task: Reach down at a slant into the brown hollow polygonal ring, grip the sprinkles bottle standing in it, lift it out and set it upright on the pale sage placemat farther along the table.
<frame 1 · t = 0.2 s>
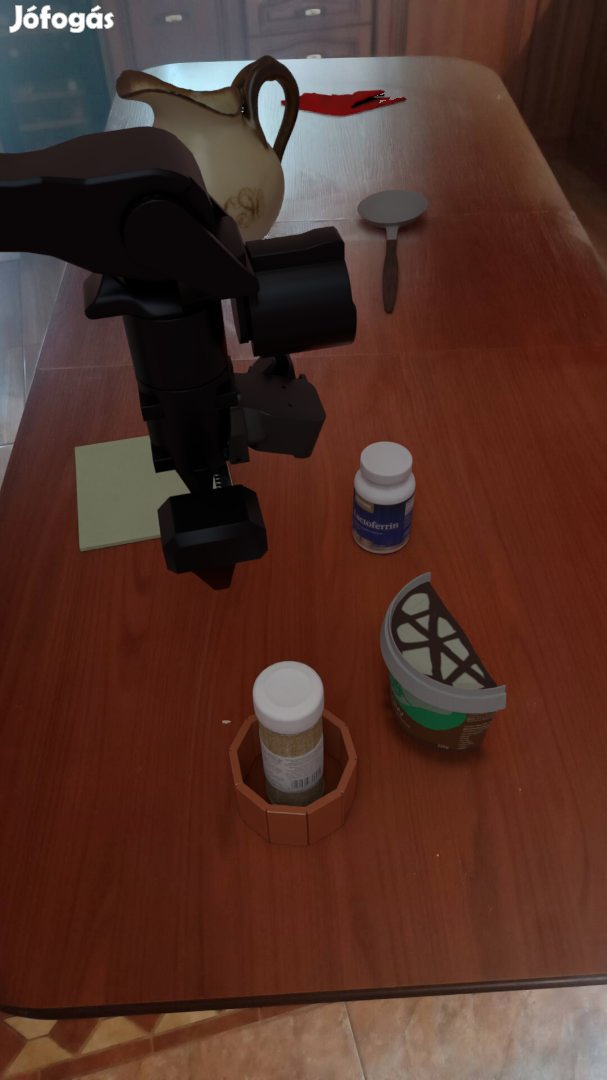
hand: (213, 542, 60), 14 cm above the table, tool pointing down, fingers open, 9 cm apart
pill bottle: (380, 536, 79), on the table
sprinkles bottle: (294, 789, 60), resting in brown hollow polygonal ring
pitcher: (214, 252, 121), on the table
brown hollow polygonal ring: (294, 787, 60), on the table
food container: (416, 714, 65), on the table
cloth: (341, 106, 165), on the table
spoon: (390, 258, 119), on the table
placemat: (154, 485, 85), on the table
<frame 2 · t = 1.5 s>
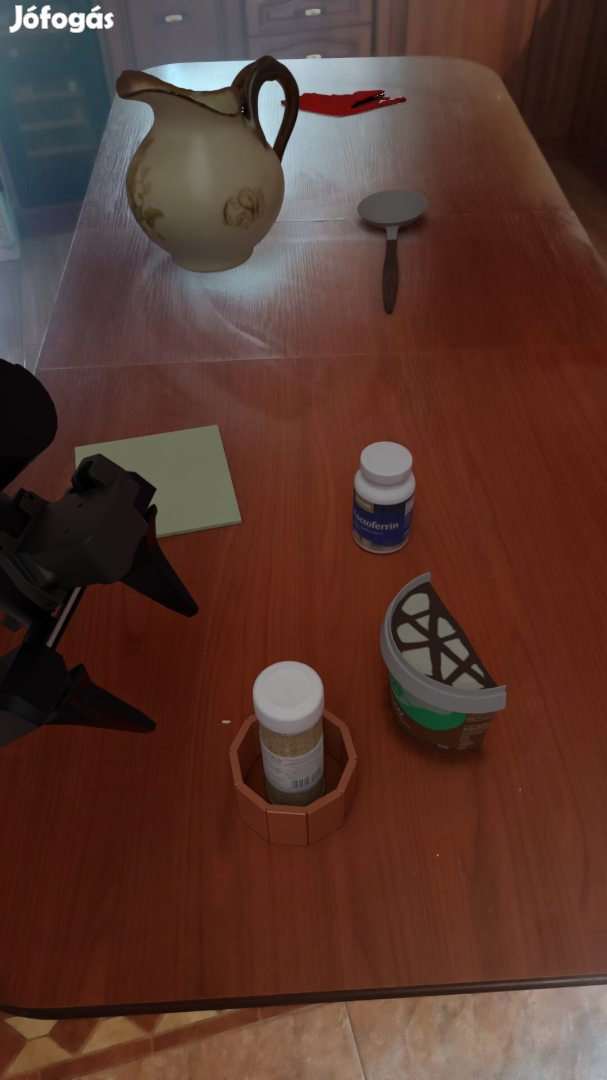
hand: (174, 667, 52), 13 cm above the table, tool tilted 45°, fingers open, 9 cm apart
nothing on the table moved.
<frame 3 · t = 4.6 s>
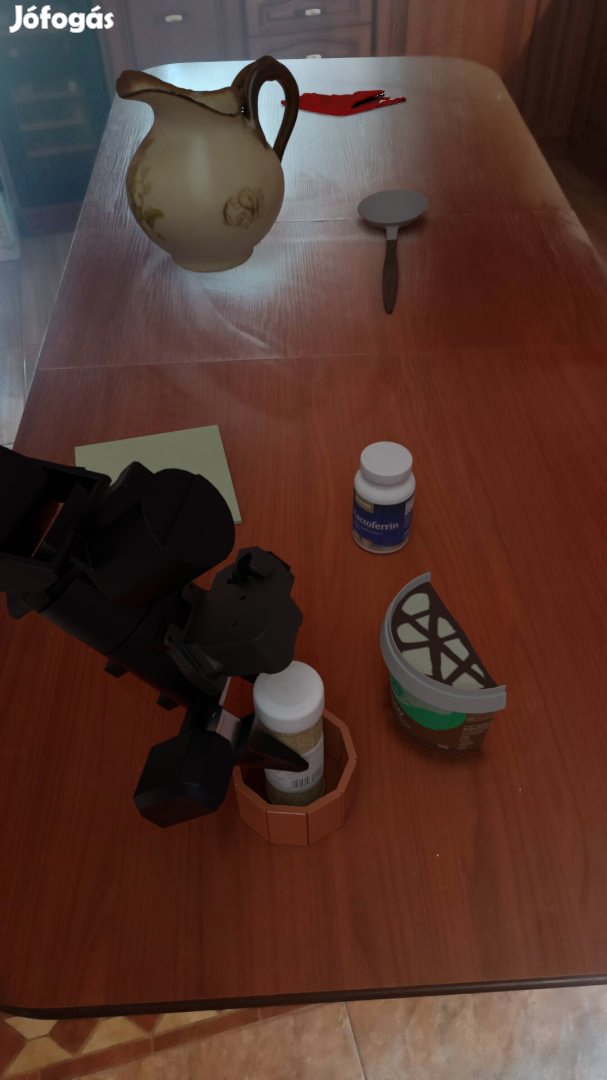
hand: (311, 739, 55), 8 cm above the table, tool tilted 45°, fingers closed on sprinkles bottle, 4 cm apart
sprinkles bottle: (295, 789, 60), resting in brown hollow polygonal ring, touching gripper
everything else where it was.
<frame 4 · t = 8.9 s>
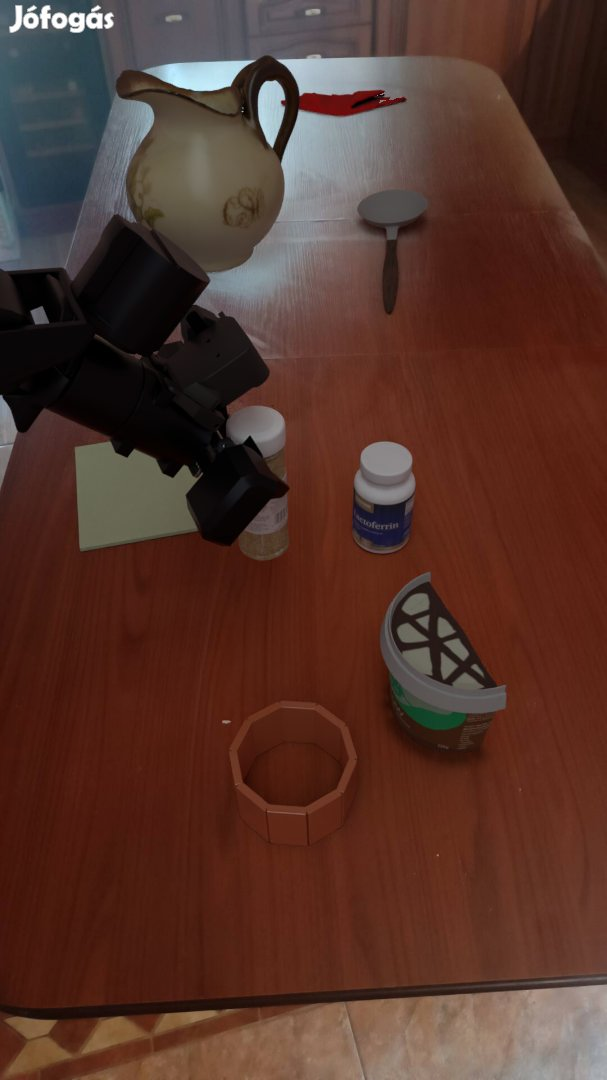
hand: (275, 474, 65), 13 cm above the table, tool tilted 45°, fingers closed on sprinkles bottle, 4 cm apart
sprinkles bottle: (264, 546, 70), point 5 cm above the table, touching gripper
everything else where it was.
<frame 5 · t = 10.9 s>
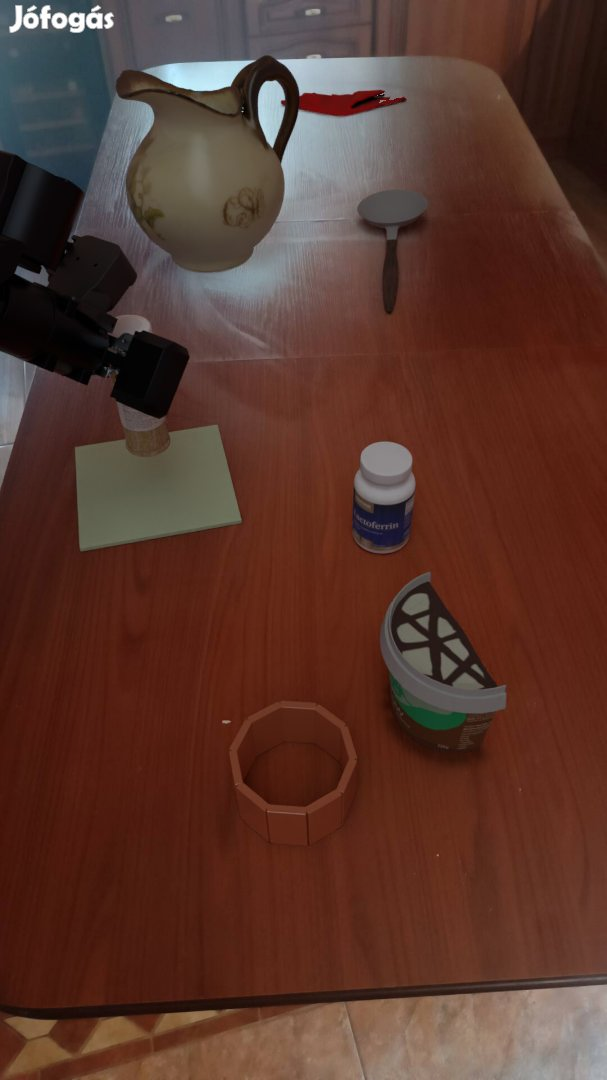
hand: (146, 374, 76), 13 cm above the table, tool tilted 45°, fingers closed on sprinkles bottle, 4 cm apart
sprinkles bottle: (149, 447, 80), point 5 cm above the table, touching gripper
everything else where it was.
when the fingers open (8 cm above the table, at t = 13.1 s): sprinkles bottle stays where it is, resting on placemat.
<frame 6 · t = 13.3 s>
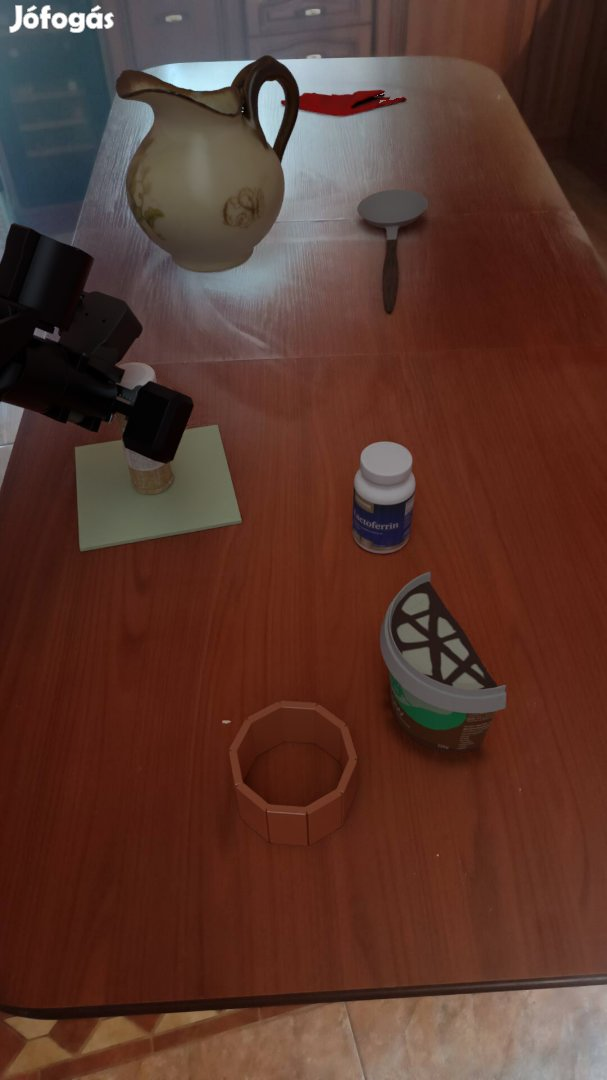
hand: (150, 415, 80), 8 cm above the table, tool tilted 45°, fingers open, 6 cm apart
sprinkles bottle: (153, 483, 84), resting on placemat
everything else where it was.
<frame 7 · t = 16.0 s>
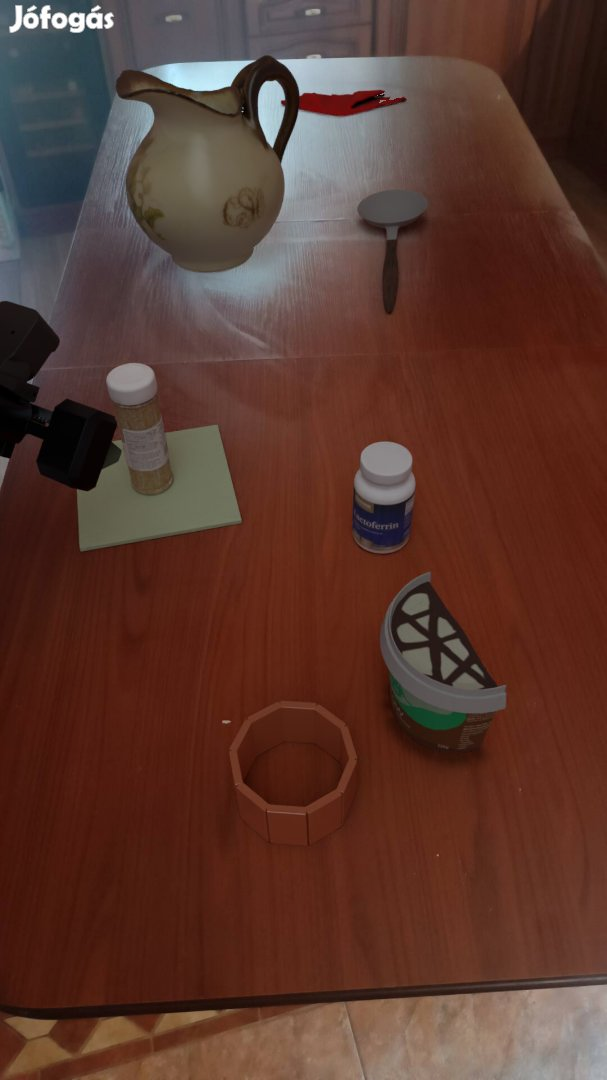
hand: (80, 440, 72), 12 cm above the table, tool tilted 45°, fingers open, 9 cm apart
nothing on the table moved.
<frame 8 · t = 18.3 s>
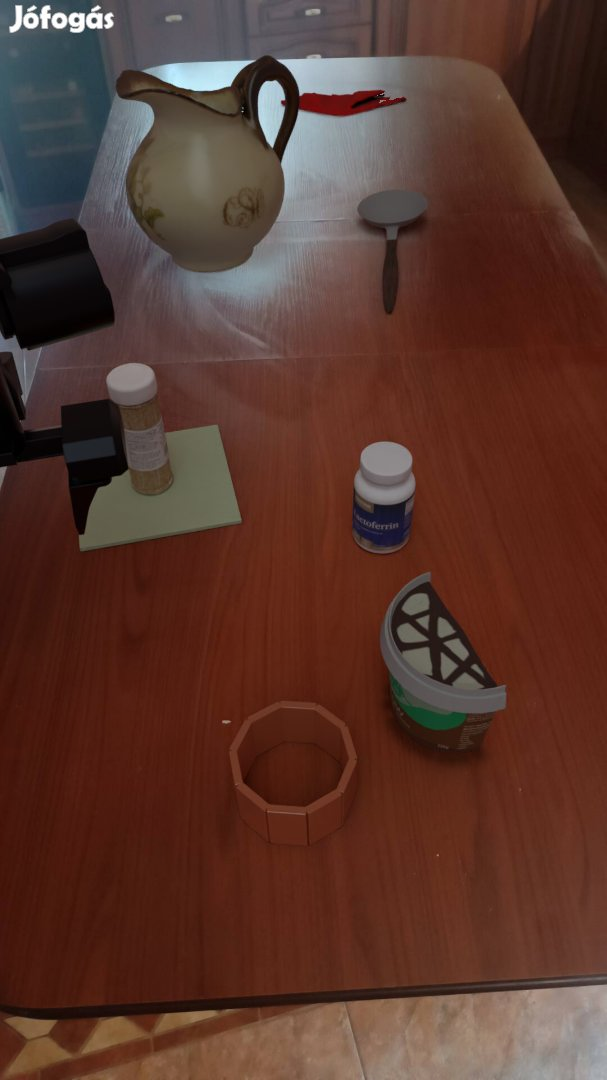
hand: (20, 541, 61), 13 cm above the table, tool pointing down, fingers open, 9 cm apart
nothing on the table moved.
at the end: sprinkles bottle inside the target area on the placemat (0.1 cm from its centre), point 0.3 cm above the placemat's base; sprinkles bottle tilted 0°; sprinkles bottle touching placemat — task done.
